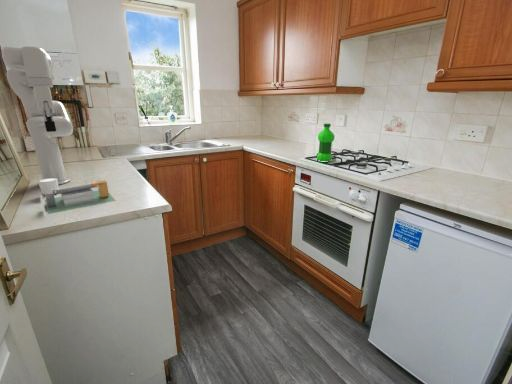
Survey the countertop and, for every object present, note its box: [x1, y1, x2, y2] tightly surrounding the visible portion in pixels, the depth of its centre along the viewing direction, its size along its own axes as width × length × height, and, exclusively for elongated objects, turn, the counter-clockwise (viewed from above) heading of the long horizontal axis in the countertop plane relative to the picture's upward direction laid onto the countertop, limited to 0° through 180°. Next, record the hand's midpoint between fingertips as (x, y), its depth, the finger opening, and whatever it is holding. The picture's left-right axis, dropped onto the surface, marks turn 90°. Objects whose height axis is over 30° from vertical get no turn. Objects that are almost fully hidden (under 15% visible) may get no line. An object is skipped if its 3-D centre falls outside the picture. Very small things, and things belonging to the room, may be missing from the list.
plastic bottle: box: [316, 123, 335, 162], centre depth 182 cm, size 10×10×25 cm
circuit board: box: [44, 190, 116, 215], centre depth 111 cm, size 18×22×2 cm
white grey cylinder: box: [37, 178, 60, 195], centre depth 119 cm, size 7×7×7 cm
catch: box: [90, 179, 110, 197], centre depth 113 cm, size 3×5×6 cm, turn 129°
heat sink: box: [44, 188, 95, 208], centre depth 108 cm, size 10×15×4 cm, turn 128°
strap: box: [52, 183, 98, 196], centre depth 109 cm, size 15×4×1 cm, turn 128°
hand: (51, 131), depth 113 cm, fingers closed
